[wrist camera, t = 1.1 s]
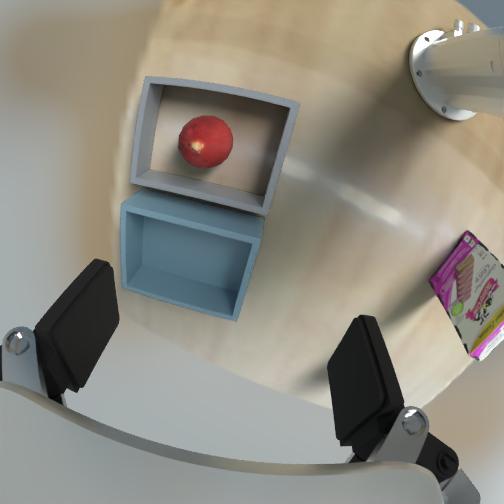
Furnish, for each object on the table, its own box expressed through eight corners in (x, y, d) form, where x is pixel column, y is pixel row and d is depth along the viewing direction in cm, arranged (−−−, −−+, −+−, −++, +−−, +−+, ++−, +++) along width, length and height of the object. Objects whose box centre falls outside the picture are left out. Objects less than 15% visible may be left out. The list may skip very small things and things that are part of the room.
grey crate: (159, 78, 27) (145, 76, 23) (297, 103, 27) (300, 102, 24) (144, 174, 33) (129, 182, 30) (268, 203, 34) (267, 216, 30)
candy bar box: (466, 227, 32) (527, 291, 18) (479, 242, 33) (535, 304, 18) (425, 281, 37) (468, 357, 23) (441, 292, 38) (481, 363, 24)
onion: (189, 159, 32) (164, 175, 25) (191, 114, 29) (165, 117, 22) (235, 162, 32) (222, 179, 25) (239, 116, 29) (226, 118, 22)
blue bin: (142, 188, 34) (120, 203, 29) (264, 218, 35) (261, 239, 30) (139, 265, 41) (122, 287, 36) (242, 294, 41) (236, 321, 36)
